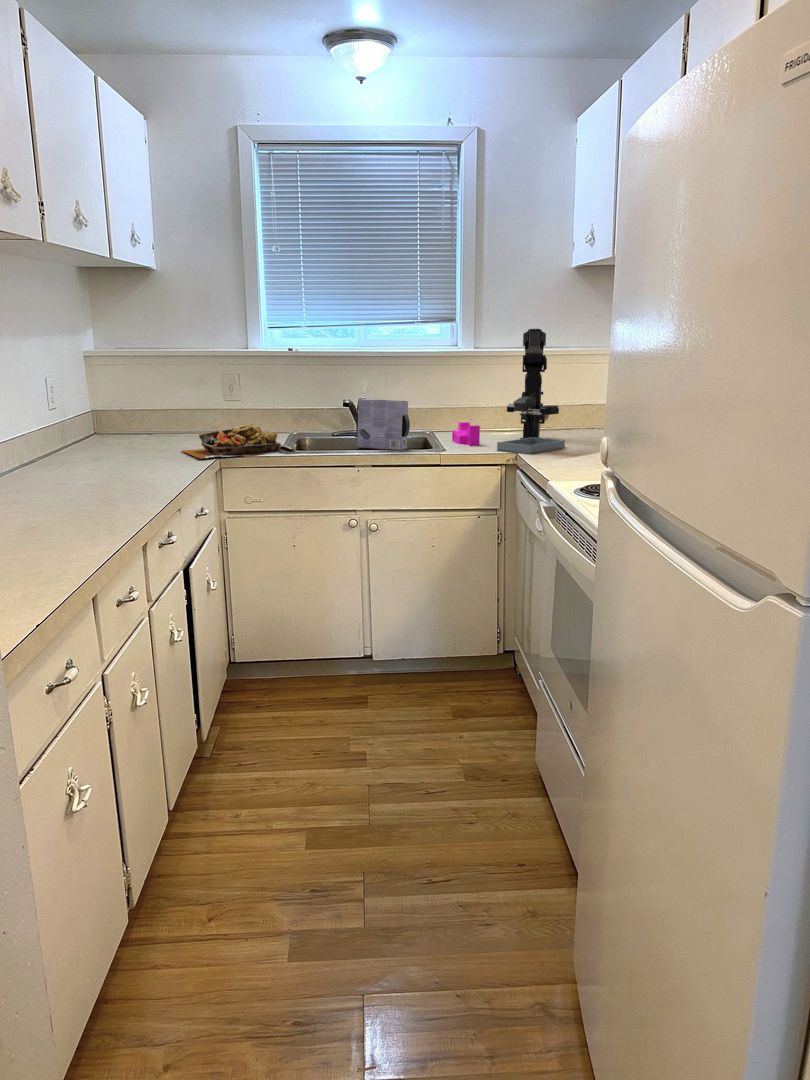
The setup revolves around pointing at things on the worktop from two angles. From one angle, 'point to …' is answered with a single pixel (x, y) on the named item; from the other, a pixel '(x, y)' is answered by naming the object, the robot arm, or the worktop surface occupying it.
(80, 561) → the worktop surface
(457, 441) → the toy block
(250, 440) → the food tray
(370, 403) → the cake pan box
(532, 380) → the robot arm
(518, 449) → the tray
